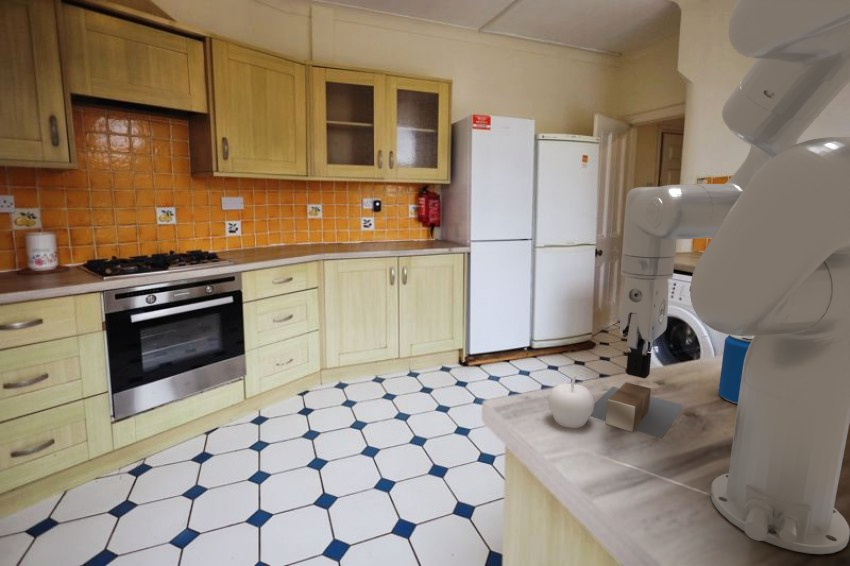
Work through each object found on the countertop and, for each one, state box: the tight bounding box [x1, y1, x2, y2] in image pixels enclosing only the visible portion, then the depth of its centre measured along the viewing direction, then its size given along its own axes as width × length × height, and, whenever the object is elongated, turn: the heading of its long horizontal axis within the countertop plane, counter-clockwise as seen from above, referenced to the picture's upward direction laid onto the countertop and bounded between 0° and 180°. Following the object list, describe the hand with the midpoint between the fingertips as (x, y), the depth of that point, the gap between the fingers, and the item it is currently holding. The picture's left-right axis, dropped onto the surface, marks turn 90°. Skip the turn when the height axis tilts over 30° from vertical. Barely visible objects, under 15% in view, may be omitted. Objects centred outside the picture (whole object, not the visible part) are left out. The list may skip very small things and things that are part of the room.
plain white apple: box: [547, 375, 595, 429], centre depth 73 cm, size 7×7×8 cm
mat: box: [590, 386, 685, 439], centre depth 77 cm, size 14×12×1 cm
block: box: [605, 381, 652, 433], centre depth 74 cm, size 4×4×9 cm
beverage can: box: [717, 334, 754, 405], centre depth 80 cm, size 6×6×12 cm
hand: (637, 374), depth 76 cm, fingers closed
